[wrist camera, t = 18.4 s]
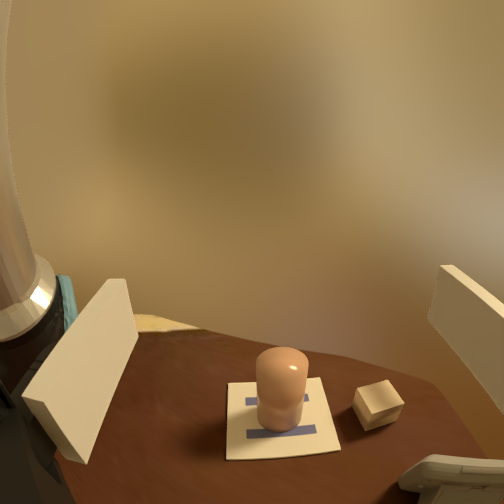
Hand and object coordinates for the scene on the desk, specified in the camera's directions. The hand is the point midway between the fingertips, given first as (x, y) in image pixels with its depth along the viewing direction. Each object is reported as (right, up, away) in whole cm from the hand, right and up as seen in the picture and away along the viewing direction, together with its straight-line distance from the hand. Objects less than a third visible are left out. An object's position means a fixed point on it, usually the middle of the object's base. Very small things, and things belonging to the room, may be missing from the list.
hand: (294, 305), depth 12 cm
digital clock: (+21, -27, +8) cm, 35 cm away
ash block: (+15, -21, +24) cm, 35 cm away
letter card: (+2, -20, +26) cm, 33 cm away
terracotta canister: (+2, -20, +25) cm, 32 cm away
